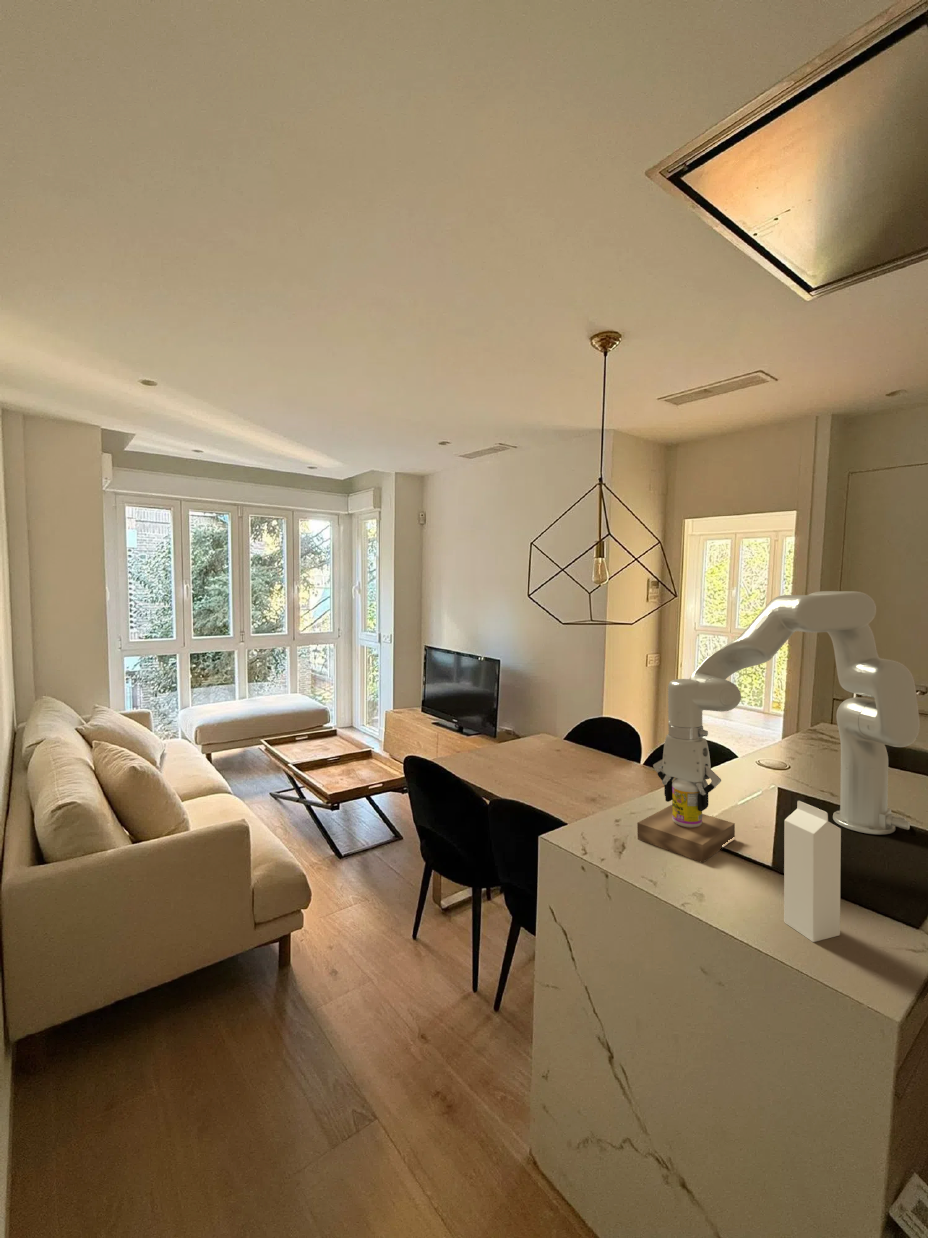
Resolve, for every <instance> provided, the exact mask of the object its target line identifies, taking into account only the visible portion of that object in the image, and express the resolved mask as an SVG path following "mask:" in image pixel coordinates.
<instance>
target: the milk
mask: <svg viewBox="0 0 928 1238" xmlns="http://www.w3.org/2000/svg"><path fill="white" fill-rule="evenodd" d="M796 805H797V806H796V807H797V808H796V809H795V810H794V811H793V812H792V813H791V814H789V815H788V816H787V817H786V818H785V819H784V831H783V832H784V833H783V834H784V835H783V836H784V840H783V841H784V844H783V845H784V846H783V847H784V854H783V855H784V856H783V857H784V860H783V861H784V864H783V867H784V868H783V873H784V875H783V876H784V881H783V882H784V883H783V888H784V889H783V899H784V900H783V906H784V907H783V909H784V910H783V913H784V914H783V922H784V923H785V924H786V925H788V927H790V928H792V929H794V931H796V932H797V933H799V934H800V935H801V936H803V937H805V939H808V940H809V941H811V942H812V943H816V942H819V941H824V940H827V939H830V938H831V939H832V938H834V937H838V936H840V935H841V866H842V865H841V859H842V858H841V853H842V851H841V850H842V849H841V848H842V847H841V846H842V837H841V836H842V828H841V827H838V826H837V825H835V824H833V823H832V822H830V821H829V813H828V812H827V811H825V810H822V809H821V808H820V809H819V808H818V807H816V806H813V805H810V804H808V803H806V802H803V801H801V800H797V804H796Z"/></svg>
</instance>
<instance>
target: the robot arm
mask: <svg viewBox="0 0 928 1238" xmlns="http://www.w3.org/2000/svg"><path fill="white" fill-rule="evenodd" d="M876 614H877V606H876V602H875V600H874V599H873V598H872V597H871V596H870V595H869V594H867V593H866V592H865V593H864V592H862V591H851V590H850V591H843V590H842V591H841V590H840V591H839V590H838V591H837V590H831V591H830V590H824V591H823V590H821V591H820V590H819V591H814V592H812V593H809V594H782V595H779V596H775V597H774V598H773V599H772V600H770V601H769V602H768V604H767V605H766V606H765V607H764V608H763V609H762V610H761V611H760V613H758V614H757V616H756V617H755V618H754V619H753V620H752V622H751V623H750V624H749V625H748V626H747V627H746V629H744V630H743V632H742V633H741V634H740V635H739V636H738V637H737V638H735V639H734V640H733V641H731V642H729V643H727V644H726V645H724V646H722V647H721V648H719V649H718V650H716V651H715V652H713V653H712V654H710V655H709V656H708V657H707V658H706V659H705V660H703V661H702V663H701V664H700V665H699V666H698V667H697V668H696V669H695V670H694V672H693V673H692V674H691V675H690V677H689V678H677V679H672V680H670V681H669V683H668V685H667V704H668V705H667V706H668V707H667V709H668V711H667V712H668V713H667V714H668V715H667V716H668V717H667V718H668V722H667V723H668V724H667V725H668V726H667V727H668V729H667V730H668V734H666V735H665V736H666V737H665V740H664V744H663V751H662V752H663V753H662V759H660V760H658V761H657V762H655V763H654V764H652V766H653V769H654V770H655V772H656V773H657V776H658V777H659V778H660V780H661V783H662V785H663V787H664V793H663V795H664V797H665V802H666V803H667V802H668V803H669V802H672V782H673V780H674V779H676V778H677V779H683V780H686V781H689V782H693V783H696V785H697V787H698V789H699V791H700V794H698V810H699V811H702V812H704V811H705V810H706V809H708V807H709V793H711V792H712V791H713V790H714V789H716V787H718V785H719V784H720V783H721V782H722V778H721V777H719V775H718V774H716V772H714V770H712V767H711V758H710V755H711V754H710V751H709V750H710V749H709V745H708V741H707V739H706V738H704V737H708V736H709V732H708V730H705V729H704V725H703V711H710V712H712V711H713V712H721V713H723V712H729V711H732V710H733V709H736V707H738V706H739V704H740V702H741V699H742V694H741V691H740V689H739V687H738V686H737V685H736V684H735V683H733V682H732V681H730V680H727V679H728V678H729V677H731V676H732V675H733V674H735V673H737V672H738V671H741V670H743V669H746V668H750V667H754V666H755V667H756V666H758V665H762V664H764V663H767V662H769V661H771V660H772V659H773V657H774V656H775V655H776V654H777V653H778V652H779V651H780V649H781V648H782V647H783V646H784V645H785V643H786V642H787V641H788V640H790V638H791V636H792V635H793V634H794V633H795V632H802V633H827V634H828V635H829V637H830V639H831V642H832V645H833V651H834V652H833V653H834V660H835V665H836V674H837V679H838V683H839V685H840V687H841V688H842V689H844V691H847V692H849V693H850V694H855V695H860V696H863V697H857V696H856V697H850V698H847V699H845V700H843V701H842V702H841V703H840V704H839V706H838V708H837V710H836V724H837V728H838V734H839V739H840V795H839V796H840V802H839V803H840V804H839V805H840V807H839V810H836V811H834V812H833V815H832V819H833V821H834V822H835V823H836V824H838V825H839V826H841V827H843V828H845V829H848V830H851V831H854V832H858V833H864V834H868V835H880V836H881V835H890V834H893V833H894V832H895V831H896V827H897V828H899V829H902V830H903V829H904V830H907V831H908V830H910V828H911V827H910V826H911V822H910V821H908V820H907V819H906V818H905V817H901V816H896V815H895V814H893V813H892V809H891V808H889V805H888V803H889V802H888V801H889V799H888V797H889V796H888V794H889V788H888V787H889V784H888V783H889V756H888V752H887V747H886V745H887V746H890V747H893V748H894V747H895V748H904V747H905V748H906V747H908V746H910V745H912V744H913V743H914V742H915V741H916V740H917V738H918V736H919V734H920V733H919V732H920V728H921V726H920V725H921V722H920V721H921V720H920V712H919V704H918V698H917V689H916V683H915V679H914V676H913V673H912V672H911V671H910V669H909V668H908V667H907V666H906V665H905V664H903V663H902V662H899V661H897V660H893V659H887V658H881V657H880V656H879V653H878V650H877V646H876V645H877V644H876V639H875V635H874V632H873V630H872V628H871V626H870V623H871V622H872V621H873V620H874V619H875V617H876ZM866 697H868V698H866ZM871 698H872V699H871ZM709 779H710V780H711V782H710V783H708V781H707V780H709Z"/></svg>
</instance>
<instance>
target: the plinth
mask: <svg viewBox="0 0 928 1238" xmlns="http://www.w3.org/2000/svg"><path fill="white" fill-rule="evenodd" d="M636 824H637V826H636V827H637V839H638V840H639V841H642V842H645V843H647V844H650V845H653V846H656V847H659V848H661V849H664V850H667V851H669V852H672V853H675V854H678V855H680V856H682V857H686V858H688V859H691V860H694V861H696V862H699V863H704V862H706V861H707V860H708V859H710V858H711V857H713V856H714V855H715V854H717V853H718V852H719V851H721V850H722V849H721V847H722V845H723V844H725V843H726V842H728V840H730V839H732V838H733V837H736V835H735V833H736V828H735V824H736V823H734V822H731V821H728V820H724V819H722V818H717V817H715V816H711V815H708V814H705V813H702V824H701V825H700V826H698V827H693V828H689V827H683V826H680V825H678V824H676V823H675V822H674V821H673V819H672V804H670V805H668V806H667V807H664V808H662V809H660V810H659V811H656V812H655V813H654V814H651V815H650V816H648V817H646V818H643V819H642V820H639V822H637V823H636ZM720 849H721V850H720Z"/></svg>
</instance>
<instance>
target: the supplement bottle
mask: <svg viewBox="0 0 928 1238" xmlns="http://www.w3.org/2000/svg"><path fill="white" fill-rule="evenodd" d="M698 794H700V791H699V789H698V787H697V785H696V783H693V782H689V781H686V780H683V779H677V778H674V779H673V781H672V800H671V805H672V819H673V821H674V822H675V823H676V824H678V825H680V826H683V827H689V828H693V827H698V826H700V825H701V824H702V814H703V811H699V810H698Z"/></svg>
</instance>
